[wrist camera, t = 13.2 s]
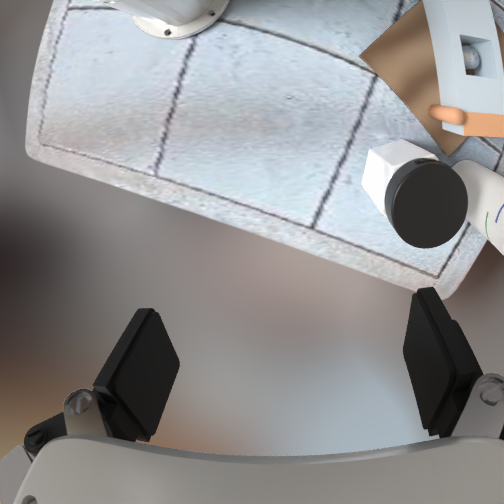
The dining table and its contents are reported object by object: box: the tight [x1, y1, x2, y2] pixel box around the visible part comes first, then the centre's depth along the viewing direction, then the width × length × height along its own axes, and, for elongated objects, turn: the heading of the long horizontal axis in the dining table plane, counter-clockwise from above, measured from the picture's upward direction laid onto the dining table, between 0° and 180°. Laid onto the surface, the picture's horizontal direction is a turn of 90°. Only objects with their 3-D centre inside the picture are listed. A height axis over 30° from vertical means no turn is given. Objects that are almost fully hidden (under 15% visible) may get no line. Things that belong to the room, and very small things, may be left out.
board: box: [359, 0, 504, 157], centre depth 26 cm, size 16×20×1 cm
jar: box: [361, 139, 468, 248], centre depth 29 cm, size 9×8×12 cm
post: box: [462, 46, 479, 69], centre depth 24 cm, size 3×3×3 cm
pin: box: [428, 104, 465, 125], centre depth 26 cm, size 2×2×6 cm
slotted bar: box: [423, 0, 504, 137], centre depth 23 cm, size 18×7×5 cm, turn 10°
